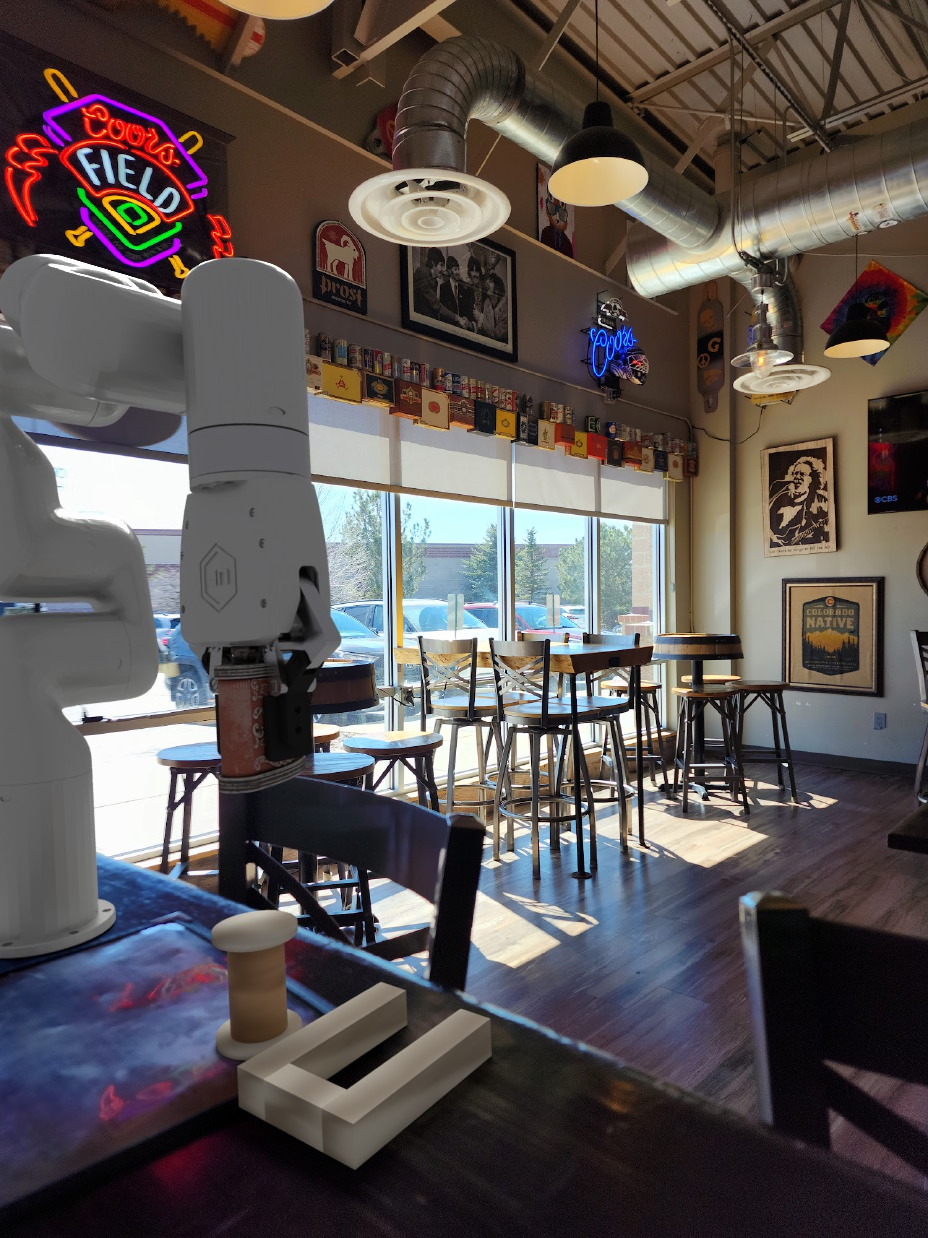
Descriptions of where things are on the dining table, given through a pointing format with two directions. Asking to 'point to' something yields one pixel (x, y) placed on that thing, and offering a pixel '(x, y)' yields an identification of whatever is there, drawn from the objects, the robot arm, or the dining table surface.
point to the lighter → (247, 725)
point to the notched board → (380, 1102)
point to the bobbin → (255, 982)
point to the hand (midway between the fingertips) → (264, 752)
